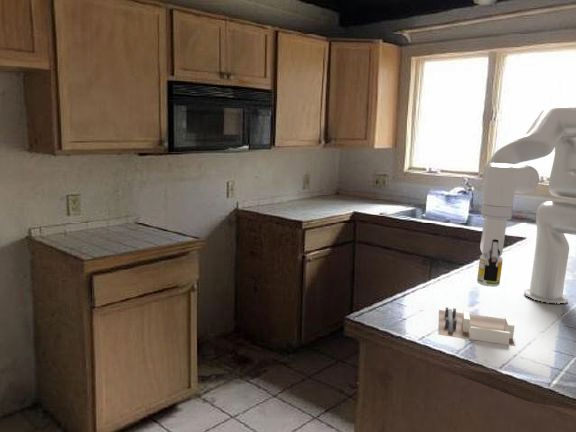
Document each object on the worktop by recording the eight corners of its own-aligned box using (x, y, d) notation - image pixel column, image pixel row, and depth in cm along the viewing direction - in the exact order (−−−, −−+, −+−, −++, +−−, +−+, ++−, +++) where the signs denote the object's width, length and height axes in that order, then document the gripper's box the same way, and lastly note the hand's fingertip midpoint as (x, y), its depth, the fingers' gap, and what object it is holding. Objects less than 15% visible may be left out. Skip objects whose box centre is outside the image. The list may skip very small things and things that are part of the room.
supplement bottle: (473, 283, 136) (477, 246, 135) (481, 279, 141) (486, 244, 139) (494, 288, 133) (499, 250, 131) (502, 284, 137) (507, 247, 135)
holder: (461, 323, 135) (463, 310, 135) (509, 330, 132) (511, 317, 131) (463, 338, 125) (464, 324, 125) (515, 345, 122) (516, 332, 121)
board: (438, 312, 145) (439, 309, 145) (505, 321, 140) (506, 319, 140) (438, 337, 127) (438, 334, 127) (514, 349, 122) (515, 345, 122)
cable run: (445, 312, 143) (445, 305, 143) (454, 313, 142) (455, 306, 142) (445, 333, 128) (445, 324, 128) (456, 334, 127) (457, 326, 127)
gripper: (479, 206, 142) (472, 268, 145) (484, 215, 126) (476, 284, 129) (508, 208, 140) (500, 271, 143) (516, 217, 124) (507, 288, 127)
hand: (488, 276), depth 136 cm, fingers closed on supplement bottle, 5 cm apart
